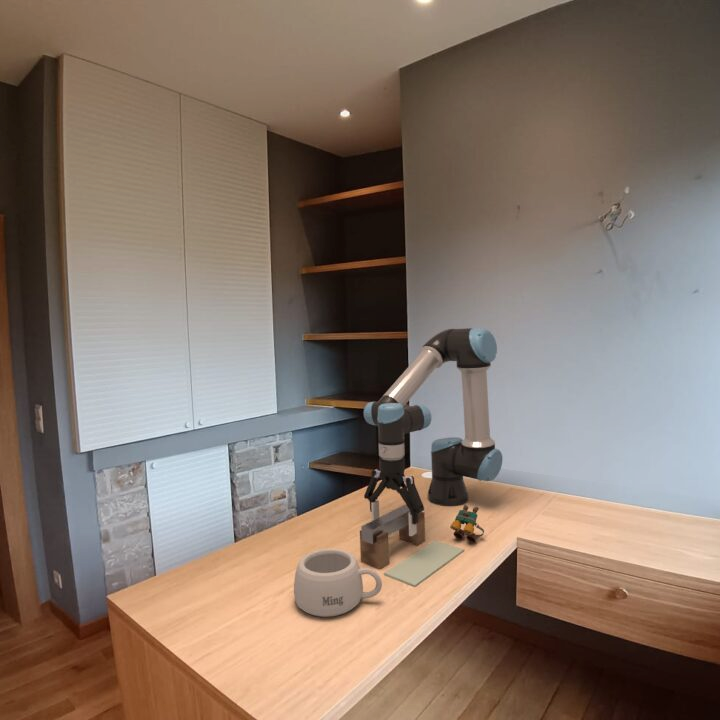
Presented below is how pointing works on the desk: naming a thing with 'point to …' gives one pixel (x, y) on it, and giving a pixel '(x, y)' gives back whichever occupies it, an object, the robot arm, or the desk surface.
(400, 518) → the rail
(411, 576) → the mat
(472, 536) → the binoculars
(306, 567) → the mug
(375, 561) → the rack
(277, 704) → the desk surface
